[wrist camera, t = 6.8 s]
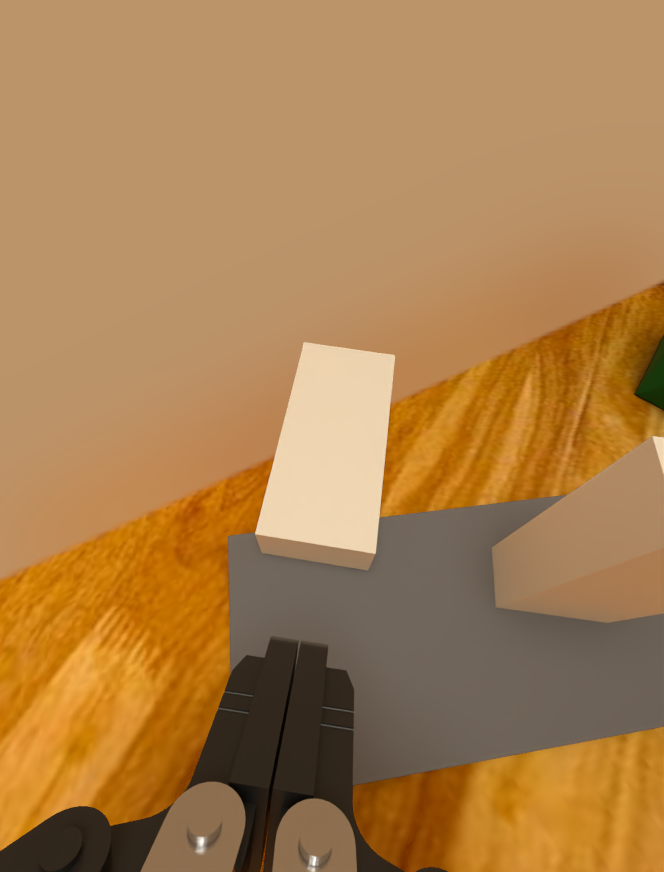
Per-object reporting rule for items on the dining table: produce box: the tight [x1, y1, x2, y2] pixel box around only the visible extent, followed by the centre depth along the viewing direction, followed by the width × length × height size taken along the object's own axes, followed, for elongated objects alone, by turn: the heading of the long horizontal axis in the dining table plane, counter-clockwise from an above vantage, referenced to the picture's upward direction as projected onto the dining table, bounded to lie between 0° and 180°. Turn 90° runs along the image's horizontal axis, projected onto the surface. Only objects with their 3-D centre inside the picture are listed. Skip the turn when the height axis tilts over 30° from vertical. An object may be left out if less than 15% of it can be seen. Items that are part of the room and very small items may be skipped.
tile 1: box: [492, 436, 664, 623], centre depth 16 cm, size 6×3×12 cm, turn 83°
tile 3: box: [255, 342, 395, 571], centre depth 23 cm, size 6×3×12 cm
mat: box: [228, 495, 664, 785], centre depth 21 cm, size 33×11×1 cm, turn 98°
